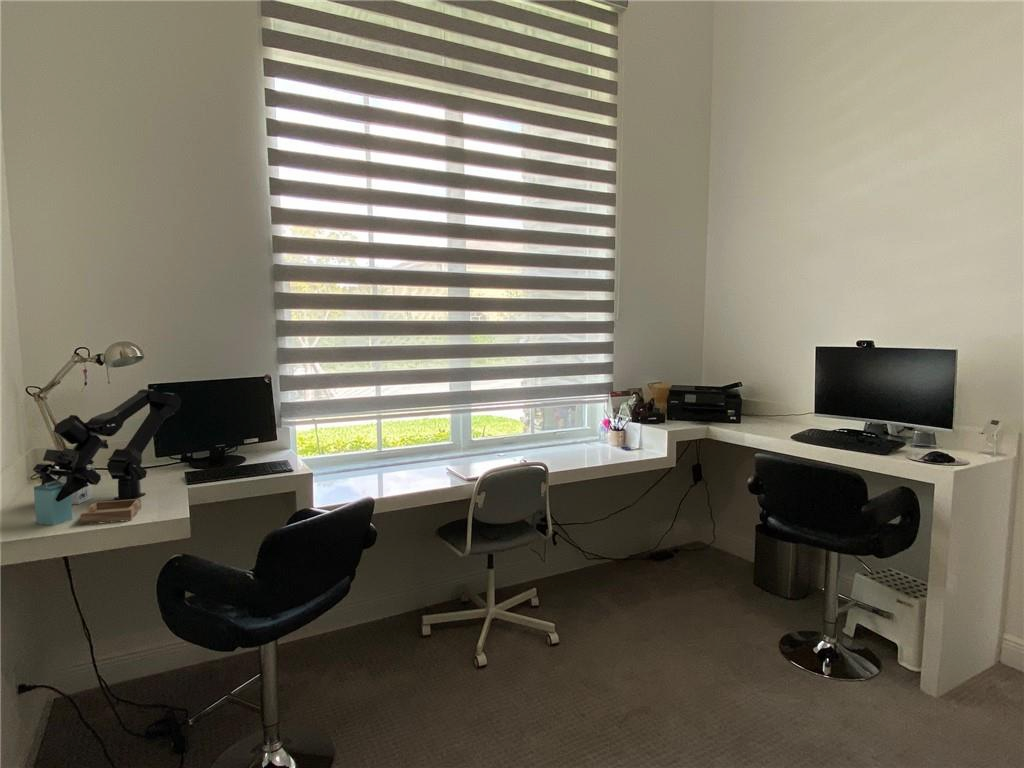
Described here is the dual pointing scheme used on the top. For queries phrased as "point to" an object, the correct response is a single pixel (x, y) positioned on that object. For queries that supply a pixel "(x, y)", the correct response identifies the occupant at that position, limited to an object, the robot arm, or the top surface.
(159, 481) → the top surface
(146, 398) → the robot arm
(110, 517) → the tray
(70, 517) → the light blue block
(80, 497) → the light bulb box
